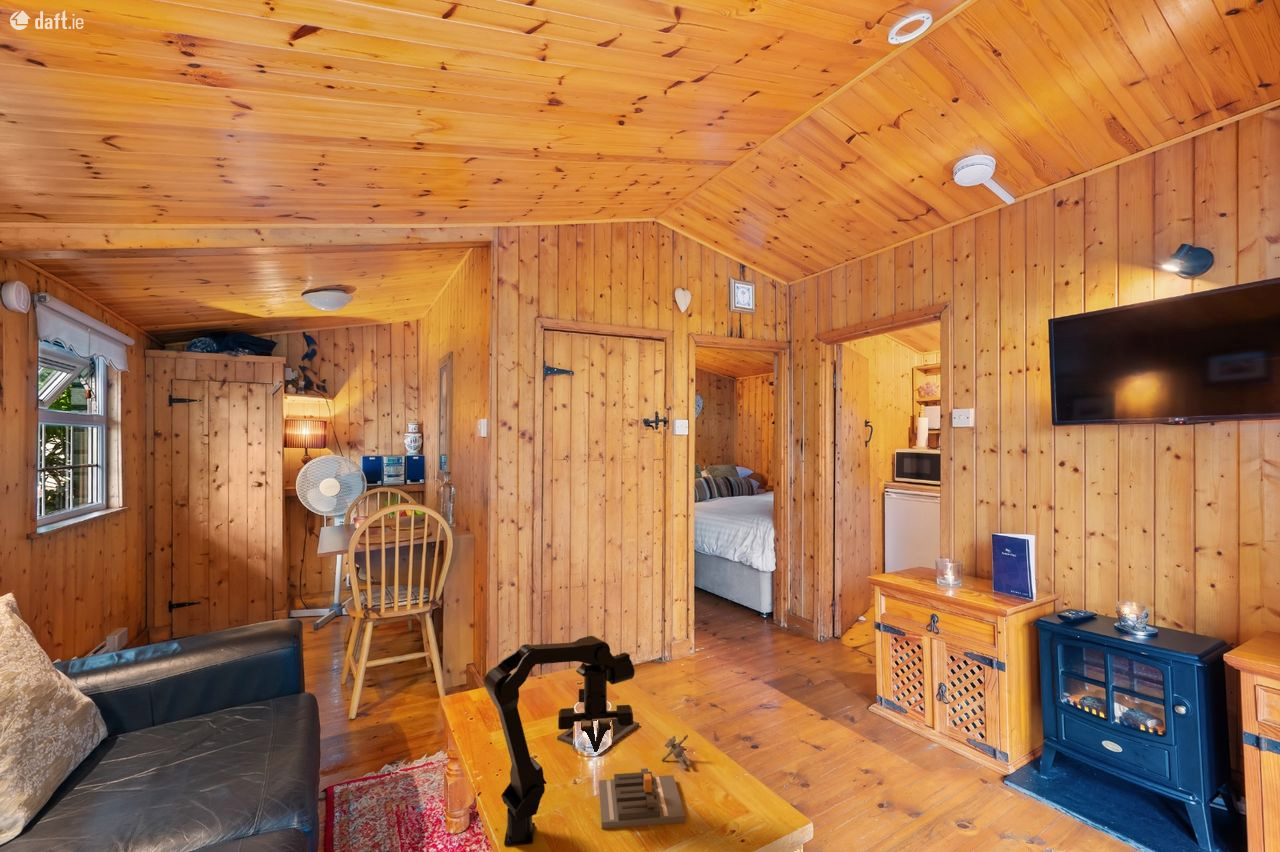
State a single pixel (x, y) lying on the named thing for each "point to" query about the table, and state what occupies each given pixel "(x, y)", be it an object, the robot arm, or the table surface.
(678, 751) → the grey toy figurine
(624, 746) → the table surface
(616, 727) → the picture frame
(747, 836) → the table surface
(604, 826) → the panel
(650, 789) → the handle
